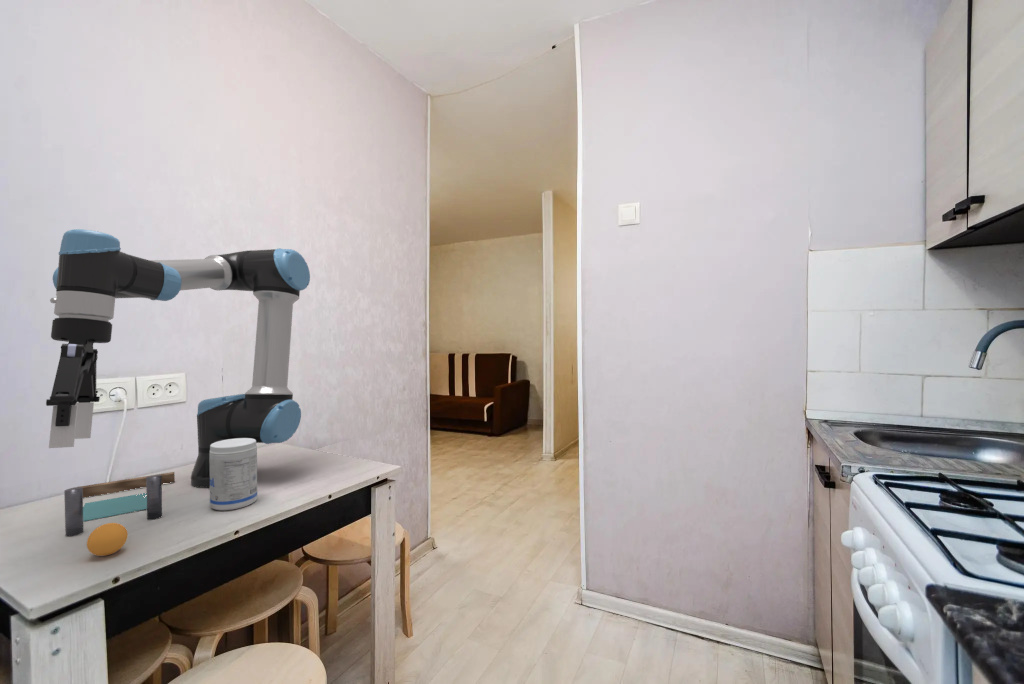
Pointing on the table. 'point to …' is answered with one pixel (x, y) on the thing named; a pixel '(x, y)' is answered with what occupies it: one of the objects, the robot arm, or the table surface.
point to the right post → (154, 496)
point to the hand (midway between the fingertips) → (71, 442)
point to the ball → (107, 539)
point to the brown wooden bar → (122, 485)
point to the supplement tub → (233, 473)
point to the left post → (73, 511)
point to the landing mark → (114, 506)
